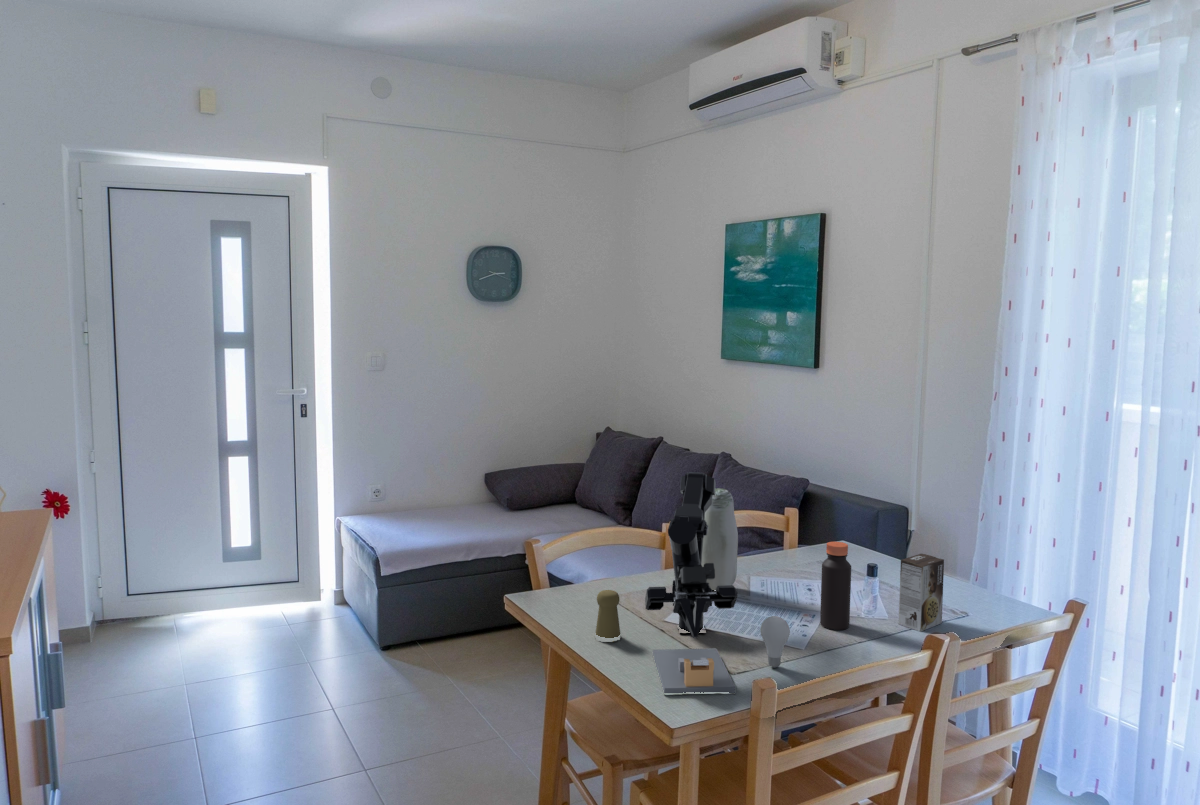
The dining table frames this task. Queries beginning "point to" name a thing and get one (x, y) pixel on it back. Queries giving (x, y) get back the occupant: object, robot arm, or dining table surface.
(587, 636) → the dining table surface
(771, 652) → the lightbulb
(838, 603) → the black water bottle
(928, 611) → the coffee box
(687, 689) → the base plate
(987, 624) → the dining table surface
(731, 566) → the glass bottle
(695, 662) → the bar
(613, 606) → the cork
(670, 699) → the dining table surface
